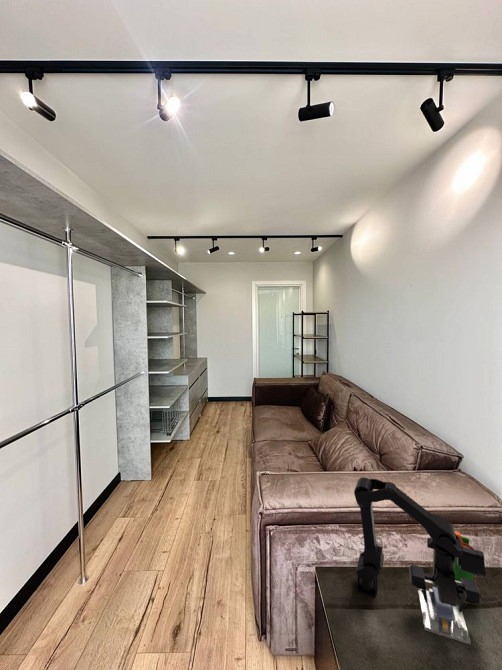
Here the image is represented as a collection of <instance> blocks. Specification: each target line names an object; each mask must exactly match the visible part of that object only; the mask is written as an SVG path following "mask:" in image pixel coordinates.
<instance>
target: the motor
mask: <svg viewBox="0 0 502 670" xmlns="http://www.w3.org/2000/svg"><path fill="white" fill-rule="evenodd" d="M455 533H456V535H457V536H458V537H459V539H460V540H461V545H462V546H463V547H466V548H470V549H473V550H476V549H475V548H474V547H473V546H472V545H470V538H469V537H466V536H463V535H462V534H461V533H460V532H459V531H457V530H455ZM454 574H455V580H456V581H459V582H461V577H462V578H466V579H470V580H474V581H475V582H476V583H477V577H478V575H475V574H472V573H469V572H466V571H463V570H461V569H460V566H459V565H458V564H457V557H455V569H454Z"/></svg>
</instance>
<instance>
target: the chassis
mask: <svg viewBox="0 0 502 670" xmlns="http://www.w3.org/2000/svg"><path fill="white" fill-rule="evenodd" d="M417 592H418V593H417V594H418V598H419V603H420V609H421V612H420V613H421V616H422V623H423V628H424V631H426V632H430V633H432V634H437V635H439V636H442V637H446V638H449V639H452V640H456V641H458V642H461V643H465V644H467V645H472V643H471V638H470V634H469V631H468V628H467V625H466V624H467V623H466V621H465V616H464V613H463V611H462V612H461V613H459V610H458V605H457V606H456V607H454V606H452V605H451V608H452V615H453V619H454V621H452V625H451V624H448V629H447V628H443V625H442V622H441V621H439V617H438V615H436V613H435V608H434V603H433V599H434V593H433V588H429V589H428V590H426V593H427V603H426V602H425V599H424V596H423V593H422V591H421V589H418V590H417Z"/></svg>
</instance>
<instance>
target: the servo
mask: <svg viewBox="0 0 502 670" xmlns="http://www.w3.org/2000/svg"><path fill="white" fill-rule="evenodd" d="M432 590H433V593H434V599H433V603H434V608H435V613H436V615H438V617H439V621H441V622H442V625H443V628H447V629H448V624H451V625H452V621H454V619H453V615H452V608H451V605H449V604H444V603H442V602H440V600H439V596H438V590H437V586H436V587H435V586H432Z"/></svg>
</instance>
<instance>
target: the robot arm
mask: <svg viewBox="0 0 502 670" xmlns="http://www.w3.org/2000/svg"><path fill="white" fill-rule="evenodd" d="M353 493H354V498H355V502H356V504H357V505H358V507H359V509H360V519H361V527H362V528H361V529H362V536H363V537H362V538H363V545H364V547H363V552H360V553H359V556H358V561H357V565H356V569H355V573H356V591H357V592H359V593H363V594H366V595H369V596H373V597H377V591H379V587H378V586H379V576H380V575H381V572H382V571H383V566H384V559H385V556H384V553H383V546H379V544H378V543H377V535H376V528H375V527H376V526H375V518H374V509H373V508H374V507H373V503H378V502H382V501H390V502H392V503H393V504H394V505H395V506H397V507H398V508H399V509H401V510H402V511H403V512H404V513H406V514H407V515H408V516H410V517H411V519H413V520H414V521H416V522H417V523H418V524H420V526H422V527H423V528H424V529H425V531H426V533H427V534H428V536H429V537H427V538H426V547H427V548H429V549H432V550H433V554H432V555H433V557H432V559H433V560H432V575H431V574H428V573H424V567H423V566H422V567H421V566H418V565H414V564H410V565H409V569H408V570H409V576H410V583H411V585H412V586H414V587H416V588H417V589H418V590H421V591H422V593H423V596H424V599H425V602H426V603H427V593H426V591H427V586H426V583H427V584H431V585H433V586H434V587H435V586H436V588H437V590H438V596H439V600H440V602H442V603H444V604H449V605H452V606H454V607H456V606H457V605H458V610H459V613H461V612H462V613H463V610H464V609H465V607H467V605H468V604H472V605H473V604H474V605H475V604H478V605H480V604H481V603H482V595H481V592H480V590H479V586H478V584H477V583H478V582H477V581H476V582H475V581H474V580H470V579H466V578H462V577H461V582H459V581H456V580H455V574H454V569H455V557H457V564H458V565H459V566H460V569H461V570H463V571H466V572H469V573H472V574H475V575H477V577H478V576H479V577H482V578H484V579H485V578H486V575H487V571H486V564H485V555H484V552H483V551H480V550H477V549H475V550H473V549H470V548H466V547H463V546H462V545H461V540H460V539H459V537H458V536H457V535H456V533H455V531H456V530H455V527H454V525H453V524H452V523H451V522H450V521H448V520H447V519H445V518H443V517H442V516H440V515H437V514H435V513H434V514H433V513H431V512H429V510H427V509H426V508H425V507H423V506H422V505H420V504H419V503H418V502H417V501H415V500H414V499H413V498H411V497H410V496H409V495H408V494H406V493H405V492H404V491H402V490H401V489H400V488H398V487H397V485H396V484H395V483H393V482H391V481H383V480H379V479H377V478H367V477H360V478H358V480H357V481H356V486H355V488H354V491H353Z"/></svg>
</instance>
